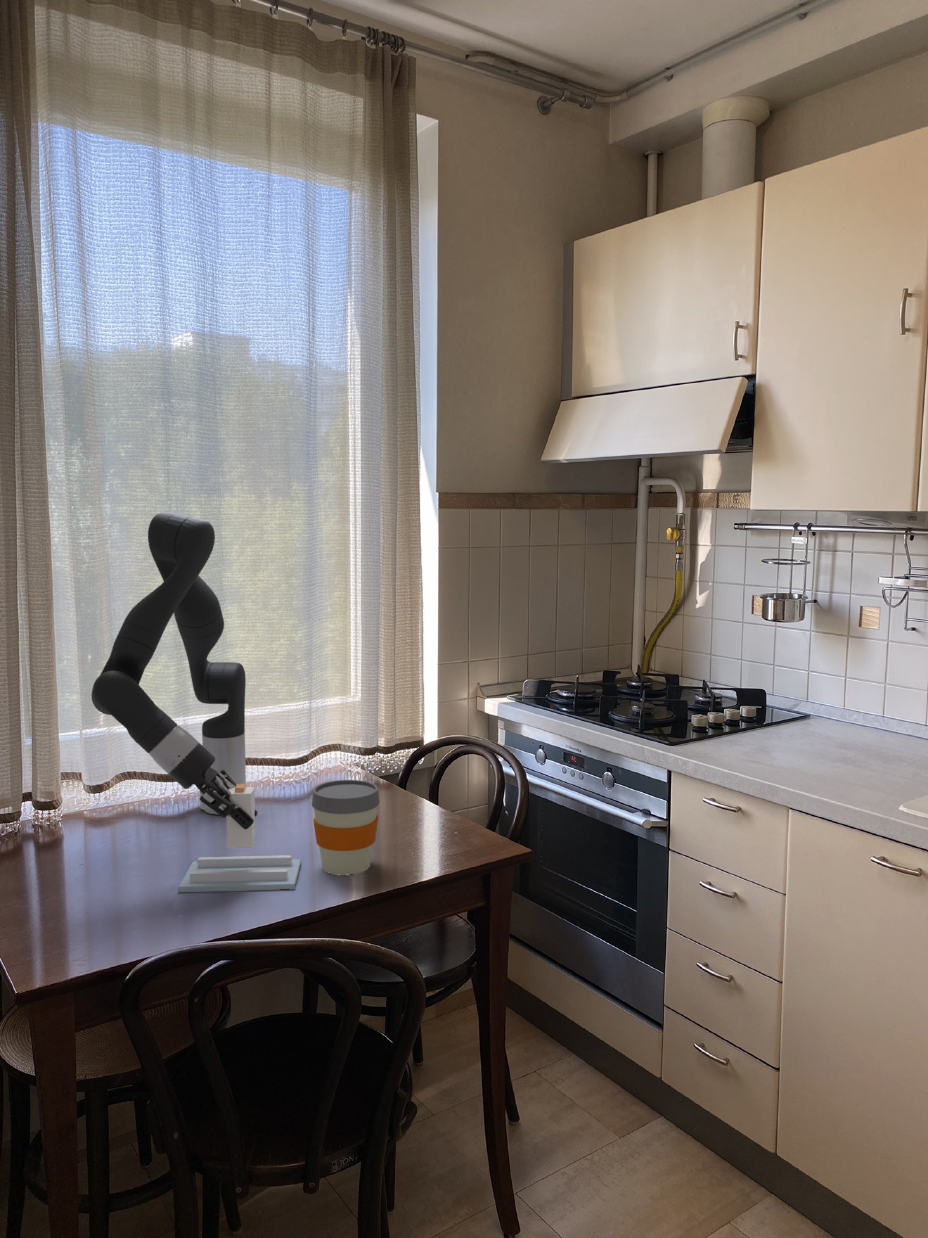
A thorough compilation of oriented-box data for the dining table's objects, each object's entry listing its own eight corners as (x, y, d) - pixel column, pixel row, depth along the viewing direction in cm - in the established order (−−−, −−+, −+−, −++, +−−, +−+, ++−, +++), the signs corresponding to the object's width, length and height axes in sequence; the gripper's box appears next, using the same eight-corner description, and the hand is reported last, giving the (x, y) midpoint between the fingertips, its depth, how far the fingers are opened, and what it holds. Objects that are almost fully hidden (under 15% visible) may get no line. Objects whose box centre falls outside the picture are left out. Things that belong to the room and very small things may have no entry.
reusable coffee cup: (391, 870, 171) (391, 792, 170) (329, 884, 165) (328, 803, 163) (361, 849, 182) (361, 775, 180) (302, 862, 175) (301, 785, 174)
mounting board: (178, 892, 161) (178, 878, 161) (193, 866, 173) (192, 853, 172) (294, 889, 162) (294, 875, 162) (300, 863, 174) (300, 851, 174)
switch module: (227, 848, 165) (226, 789, 163) (230, 840, 168) (229, 783, 167) (252, 847, 165) (251, 789, 164) (255, 840, 169) (254, 782, 168)
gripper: (188, 751, 157) (261, 819, 159) (204, 732, 171) (271, 795, 173) (157, 782, 157) (231, 849, 159) (176, 761, 171) (243, 823, 174)
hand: (251, 821), depth 166 cm, fingers closed on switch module, 4 cm apart
